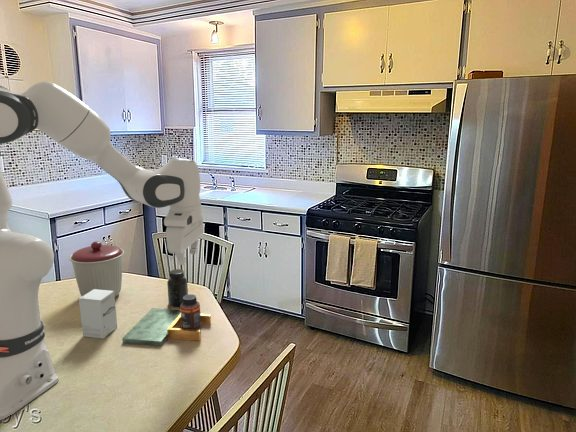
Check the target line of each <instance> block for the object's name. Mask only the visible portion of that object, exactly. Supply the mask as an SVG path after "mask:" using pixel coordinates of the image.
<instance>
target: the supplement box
mask: <svg viewBox="0 0 576 432" xmlns="http://www.w3.org/2000/svg"><path fill="white" fill-rule="evenodd" d="M78 305H79V311H80V312H79V313H80V314H79V315H80V322H81V330H82V331H81V332H82V337H86V338H87V337H88V338H95V339H103V340H105V338H106V337H107V336H108V335H110V334H111V333H112V332H113V331H114V330H116V329H117V328H118V320H117V311H116V310H117V307H116V297H115V296H114V291H110V290H98V289H93V290H92V291H90V292H89V293H87V294H85V295H84V296H80V297H79V298H78Z"/></svg>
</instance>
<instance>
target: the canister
mask: <svg viewBox="0 0 576 432" xmlns="http://www.w3.org/2000/svg"><path fill="white" fill-rule="evenodd" d="M124 254H125V250H124V249H123V248H121V247H118V246H116V245H112V244H102V243H101V241H98V240H97V241H93V242H92V243H91V244H90V246H85V247H83V248H80V249H78V250H76V251H74V252H73V253H72V254H70V255H69V256H68V257H69V258H68V260H69V261H70V262H71V264H72V268H73V272H74V276H75V279H76V284H77V287H78V291H79V294H80V297H82V296H84V295H85V294H87V293H89V292H90V291H92V290H93V289H98V290H110V291H114V296H115V298H116V297H118V295H119V294H120V292H121V290H122V282H123V281H122V280H123V279H122V278H123V256H124Z"/></svg>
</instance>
